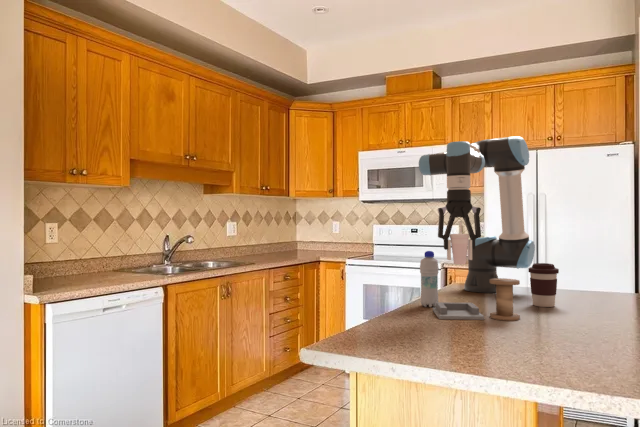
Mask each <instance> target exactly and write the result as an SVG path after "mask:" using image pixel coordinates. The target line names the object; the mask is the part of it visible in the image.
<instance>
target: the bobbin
mask: <svg viewBox="0 0 640 427" xmlns="http://www.w3.org/2000/svg"><path fill="white" fill-rule="evenodd" d="M489 281H490V284H495V285H496V292H495V294H496V296H495V300H496V301H495V308H496V310H495V311H492V312H490V313H489V318H490V319H492V320H497V321H504V322H513V321H514V322H515V321H520V319H521V315H520V314H519V313H515V312H514V286H519V285H520V279H516V278H504V277H502V278H501V277H500V278H499V277H498V278H495V279H490V280H489Z"/></svg>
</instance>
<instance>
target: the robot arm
mask: <svg viewBox="0 0 640 427" xmlns="http://www.w3.org/2000/svg"><path fill="white" fill-rule="evenodd" d="M529 162H530V151H529V147H528V144H527V142H526V140H525V139H524V138H523V137H522V136H508V137H507V136H505V137H498V138H497V137H496V138H490V139H489V138H488V139H482V140H478V141H475V142H472V143H470V142H469V141H465V140H464V141H463V140H462V141H460V140H459V141H451V142H449V143H447V144H446V151H442V152H438V153H431V154H430V153H428V154H423V155H421V156H420V157H419V160H418V170H419V172H420V174H421V175H422V176H436V175H437V176H439V175H446V188H447V191H446V205H445V206H442V207H438V208H437V213H438V225H437V226H438V228H437V237H438V238H439V239H442V240H443V249H444V250H445V251H446V260H447V261H452V246H451V239H449V238H450V236H449V235H450V234H451V231H452V228H453V225H454V222H455V220H456V218H462V219H463V221H464V224H465V227H466V229H467V230H466V231H467V234H469V238H470V239H468V247H467V262H468V264H467V265H468V266H467V267H468V269H467V270H468V271H467V275H466V279H465V281H464V287H463V290H464V291H466V292H471V293H481V294H482V293H487V294H488V293H489V294H490V293H492V294H493V293H496V285H495V284H490V281H489V280H490V279H495V278H499V277H498V273H497V270H498V268H508V269H509V268H511V269H518V270H519V269H528V268H530V267H531V265H532V263H533V262H534V256H535V250H536V247H535V241H534V240H532V239H530V235H529V233H527V232H526V231H525V217H524V203H523V202H524V201H523V185H522V173H523V172H524V171H525V170H526V169H525V168H526V167H525V166H528V165H529ZM484 168H485V169H486V168H493V172H494V173H495V174H496V175H497V176H498V188H499V201H500V217H501V234H499V236H498V238H497V236H496V235H493V236H486V237H485V236H484V237H483V236H482V231H481V220H480V213H481V210H482V209H481V207H478V206H477V207H476V206H474V205H473V204H472V194H471V193H472V191H471V185H472V184H471V174H477V173H480V172H481V171H483V169H484ZM446 211H447V212H448V213H449V217H448V221H447V225H446V228H445V231H444V224H445V214H446ZM471 211H472V213H473V222H474V230H473V226H472V223H471V220H470V217H469V214H470V212H471Z"/></svg>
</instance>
